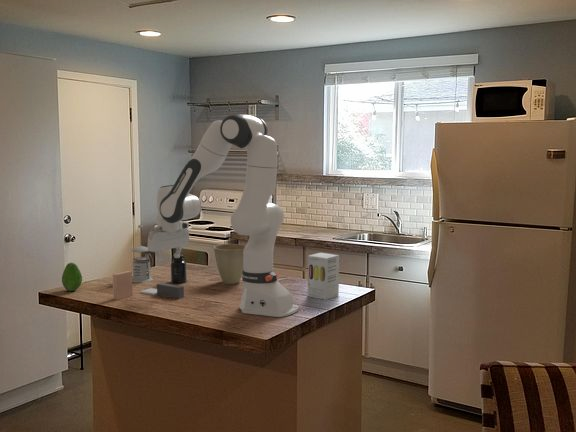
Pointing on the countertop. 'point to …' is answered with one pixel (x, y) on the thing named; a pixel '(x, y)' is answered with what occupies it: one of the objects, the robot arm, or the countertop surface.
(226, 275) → the plant pot
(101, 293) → the countertop surface
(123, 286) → the glazed tile
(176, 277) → the supplement bottle
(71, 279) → the avocado
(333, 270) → the supplement box
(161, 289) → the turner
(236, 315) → the countertop surface
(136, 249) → the french press
